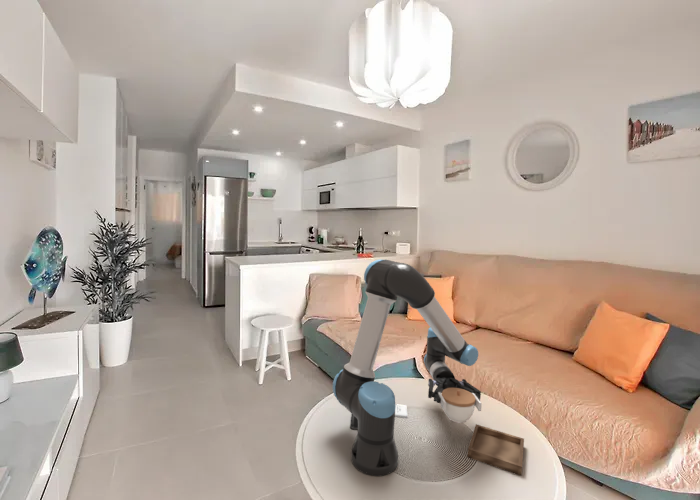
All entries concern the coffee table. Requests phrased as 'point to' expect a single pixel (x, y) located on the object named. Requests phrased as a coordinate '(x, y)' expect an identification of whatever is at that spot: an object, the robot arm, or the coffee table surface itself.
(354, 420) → the phone
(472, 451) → the walnut tray
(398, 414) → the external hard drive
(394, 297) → the robot arm
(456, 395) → the lidded jar
